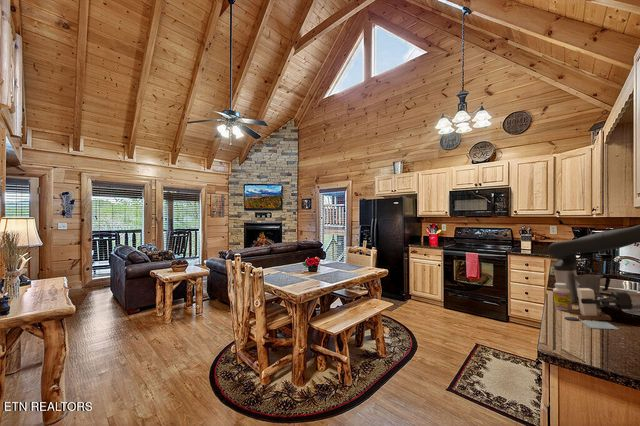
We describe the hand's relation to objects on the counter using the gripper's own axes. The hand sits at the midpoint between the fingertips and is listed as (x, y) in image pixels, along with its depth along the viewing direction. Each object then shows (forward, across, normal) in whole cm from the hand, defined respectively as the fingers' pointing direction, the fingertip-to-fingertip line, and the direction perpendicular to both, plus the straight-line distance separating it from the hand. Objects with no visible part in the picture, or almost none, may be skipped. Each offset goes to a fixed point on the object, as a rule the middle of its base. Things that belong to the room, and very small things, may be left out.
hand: (579, 299), depth 130 cm
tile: (-1, +14, +7) cm, 16 cm away
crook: (-6, -10, +8) cm, 14 cm away
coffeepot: (-13, -21, +8) cm, 26 cm away
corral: (-3, 0, +7) cm, 8 cm away
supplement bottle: (+3, -11, +8) cm, 14 cm away
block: (-3, 0, +7) cm, 8 cm away
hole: (+6, +7, +7) cm, 11 cm away
